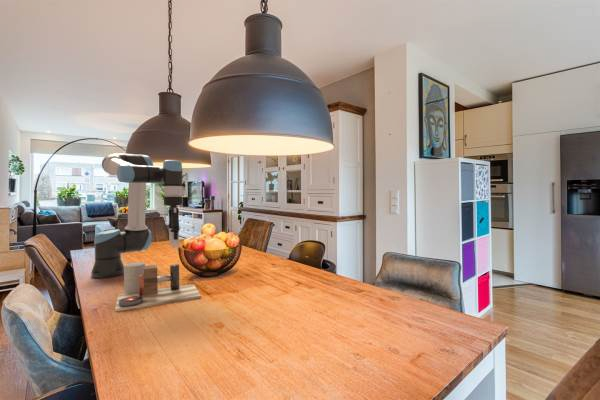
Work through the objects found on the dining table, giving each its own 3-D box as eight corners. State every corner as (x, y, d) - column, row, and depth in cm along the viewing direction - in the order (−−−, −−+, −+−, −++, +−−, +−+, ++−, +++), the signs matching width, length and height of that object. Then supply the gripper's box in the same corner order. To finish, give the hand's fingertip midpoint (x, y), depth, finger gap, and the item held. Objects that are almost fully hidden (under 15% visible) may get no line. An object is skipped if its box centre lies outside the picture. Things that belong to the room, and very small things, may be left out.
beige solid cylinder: (120, 292, 132) (119, 265, 131) (137, 287, 139) (137, 261, 139) (132, 295, 128) (131, 267, 128) (149, 290, 135) (149, 263, 135)
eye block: (118, 296, 126) (117, 268, 126) (194, 286, 140) (193, 260, 140) (115, 311, 110) (114, 278, 110) (200, 298, 124) (200, 268, 124)
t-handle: (140, 292, 128) (139, 268, 128) (179, 286, 135) (178, 264, 135) (140, 294, 125) (139, 270, 124) (179, 289, 132) (179, 265, 132)
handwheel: (135, 296, 122) (135, 273, 122) (151, 298, 120) (151, 275, 120) (113, 305, 113) (113, 280, 113) (130, 307, 110) (129, 282, 110)
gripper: (162, 196, 141) (162, 241, 141) (165, 196, 119) (166, 250, 119) (179, 196, 144) (180, 240, 145) (186, 196, 122) (187, 248, 123)
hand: (174, 245), depth 132 cm, fingers open, 13 cm apart
